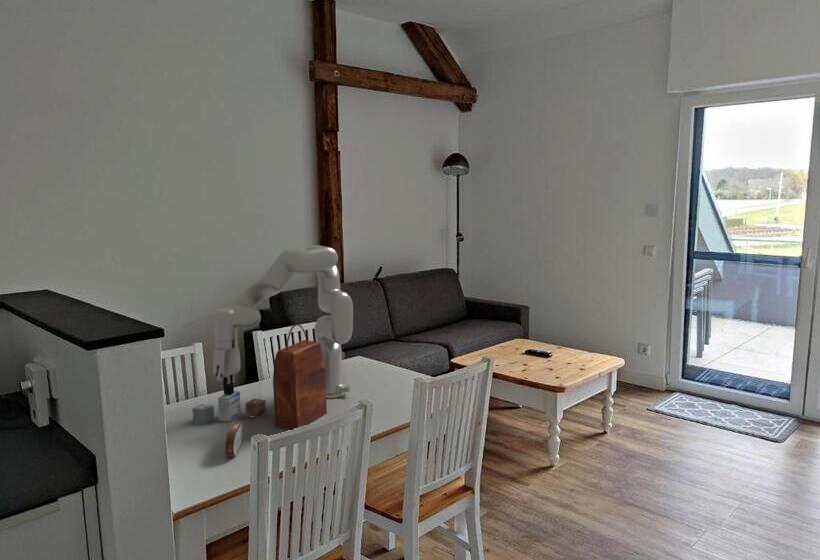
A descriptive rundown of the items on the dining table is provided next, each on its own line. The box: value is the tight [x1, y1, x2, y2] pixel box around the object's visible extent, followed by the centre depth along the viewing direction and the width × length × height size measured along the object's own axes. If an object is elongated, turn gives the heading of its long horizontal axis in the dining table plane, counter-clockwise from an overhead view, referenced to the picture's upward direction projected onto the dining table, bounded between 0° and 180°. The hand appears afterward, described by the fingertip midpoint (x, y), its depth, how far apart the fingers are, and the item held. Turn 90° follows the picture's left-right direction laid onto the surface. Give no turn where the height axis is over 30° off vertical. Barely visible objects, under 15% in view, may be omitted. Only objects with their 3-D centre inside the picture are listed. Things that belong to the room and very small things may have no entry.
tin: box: [224, 420, 244, 458], centre depth 182 cm, size 15×3×8 cm, turn 5°
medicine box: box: [217, 390, 242, 422], centre depth 210 cm, size 8×4×9 cm, turn 168°
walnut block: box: [245, 398, 267, 418], centre depth 213 cm, size 5×5×5 cm
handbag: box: [272, 323, 328, 430], centre depth 206 cm, size 10×19×35 cm, turn 155°
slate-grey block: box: [192, 403, 215, 425], centre depth 208 cm, size 5×5×5 cm
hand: (228, 393), depth 209 cm, fingers closed
